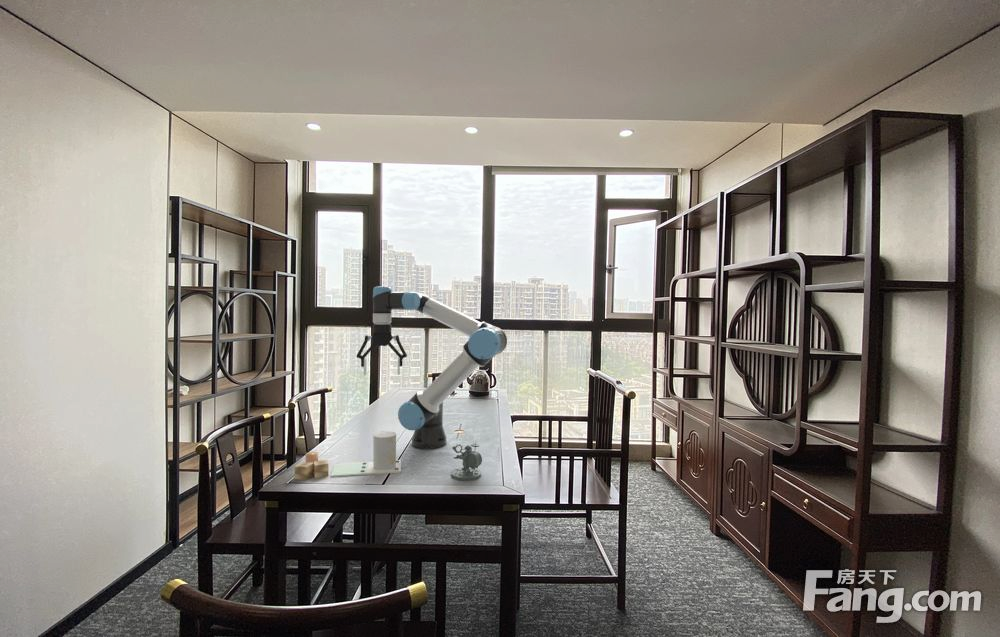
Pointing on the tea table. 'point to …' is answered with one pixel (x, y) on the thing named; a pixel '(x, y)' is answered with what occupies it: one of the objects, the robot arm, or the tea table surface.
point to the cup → (384, 450)
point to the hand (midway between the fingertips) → (382, 374)
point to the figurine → (467, 464)
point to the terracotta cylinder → (311, 457)
